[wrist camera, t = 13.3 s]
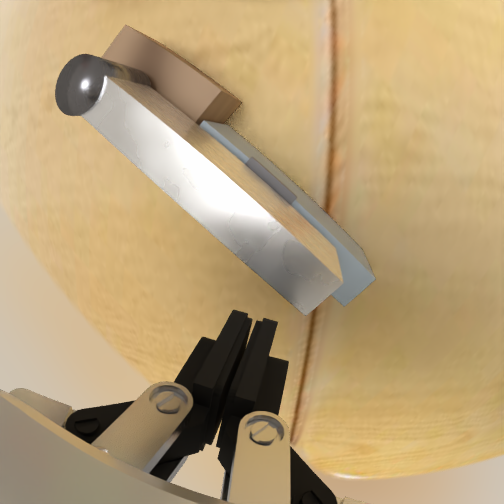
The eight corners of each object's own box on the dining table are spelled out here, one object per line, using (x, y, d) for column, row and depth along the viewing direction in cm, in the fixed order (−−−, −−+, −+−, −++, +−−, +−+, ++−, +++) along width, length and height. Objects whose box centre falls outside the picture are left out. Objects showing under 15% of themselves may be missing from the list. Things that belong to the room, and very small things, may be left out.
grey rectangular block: (364, 247, 20) (379, 279, 16) (335, 273, 22) (342, 312, 17) (230, 123, 19) (203, 116, 14) (204, 154, 20) (171, 158, 15)
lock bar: (341, 241, 15) (352, 278, 11) (302, 278, 16) (298, 324, 12) (128, 60, 13) (77, 44, 9) (101, 101, 14) (47, 97, 10)
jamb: (242, 102, 19) (221, 90, 14) (187, 168, 21) (154, 177, 16) (161, 43, 18) (125, 24, 13) (115, 107, 20) (73, 103, 15)
